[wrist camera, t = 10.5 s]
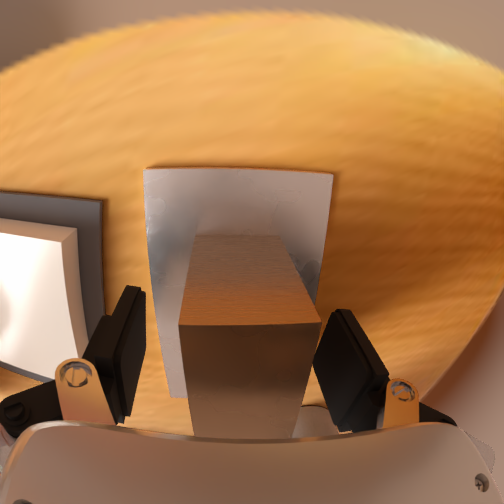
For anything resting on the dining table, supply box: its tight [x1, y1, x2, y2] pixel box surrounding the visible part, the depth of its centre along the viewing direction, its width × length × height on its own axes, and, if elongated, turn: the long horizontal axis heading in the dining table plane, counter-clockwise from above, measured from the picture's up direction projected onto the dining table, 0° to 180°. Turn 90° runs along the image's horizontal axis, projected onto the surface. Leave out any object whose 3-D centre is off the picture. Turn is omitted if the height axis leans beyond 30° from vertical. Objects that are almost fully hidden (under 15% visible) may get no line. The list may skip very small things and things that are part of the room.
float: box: [143, 167, 333, 439], centre depth 11 cm, size 12×7×6 cm, turn 177°
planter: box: [292, 406, 339, 438], centre depth 13 cm, size 4×4×10 cm
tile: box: [0, 218, 89, 379], centre depth 11 cm, size 2×8×8 cm
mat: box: [0, 191, 106, 383], centre depth 12 cm, size 12×10×1 cm
